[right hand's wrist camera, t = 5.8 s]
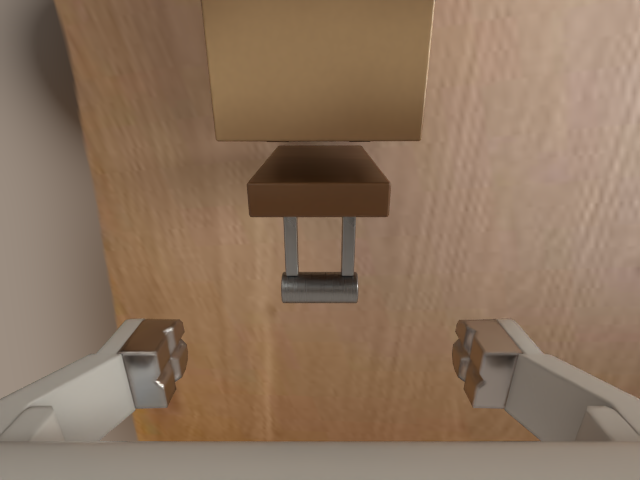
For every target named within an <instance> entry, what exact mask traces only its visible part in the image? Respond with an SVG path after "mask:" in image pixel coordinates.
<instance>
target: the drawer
mask: <svg viewBox="0 0 640 480" xmlns="http://www.w3.org/2000/svg"><path fill="white" fill-rule="evenodd" d="M267 142H289V141H267ZM349 142H370V141H349ZM390 191H391V183H390V182H389V180H388V179H387V178H386V177H385V175H384V174H383V173H382V172H381V170H380V169H379V168H378V166H377V165H376V164H375V163H374V161H373V160H372V159H371V157H370V156H369V155H368V154H367V152H366V151H365V150H364V149H363V147H362V146H278V147H277V148H276V150H275V151H274V152H273V153H272V154H271V156H270V157H269V158H268V159H267V160H266V162H265V163H264V164H263V165H262V166H261V168H260V169H259V170H258V171H257V172H256V173H255V175H254V176H253V177H252V178H251V179H250V181H249V182H248V183H247V193H248V206H249V215H250V217H283V219H284V243H285V266H286V272H283V274H282V283H281V296H282V302H283V303H357V301H358V276H357V273H356V272H354V254H355V227H356V217H388V215H389V205H390ZM297 217H342V244H341V272H299V262H298V225H297Z"/></svg>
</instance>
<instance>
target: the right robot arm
mask: <svg viewBox="0 0 640 480" xmlns="http://www.w3.org/2000/svg"><path fill="white" fill-rule="evenodd" d="M184 332H185V331H184V327H183V322H182V321H181V320H180V319H128V320H125V321H124V322H123V324H122V325H121V326H120V327H119V328H118V329H117V330H116V332H115V333H114V334H113V335H112V336H111V337H110V338H109V340H108V341H107V342H106V343H105V344H104V345H103V347H102V348H101V349H100V350H99V351H98V352H97V353H96V354H89V355H87V356H85V357H83V358H81V359H79V360H77V361H75V362H73V363H71V364H69V365H67V366H65V367H63V368H61V369H59V370H57V371H55V372H53V373H51V374H49V375H47V376H45V377H43V378H41V379H39V380H37V381H35V382H33V383H31V384H29V385H27V386H25V387H23V388H21V389H19V390H17V391H15V392H13V393H11V394H9V395H8V396H5V397H3V398H1V399H0V480H640V399H638V398H636V397H634V396H632V395H630V394H628V393H626V392H624V391H622V390H620V389H618V388H616V387H614V386H612V385H610V384H608V383H606V382H604V381H602V380H601V379H599V378H597V377H595V376H593V375H591V374H589V373H587V372H585V371H583V370H581V369H579V368H577V367H575V366H573V365H571V364H569V363H567V362H565V361H563V360H561V359H559V358H557V357H555V356H553V355H551V354H544V353H543V352H542V351H541V350H540V349H539V348H538V346H537V345H536V344H535V343H534V342H533V341H532V340H531V338H530V337H529V336H528V335H527V334H526V333H525V332H524V330H523V329H522V328H521V327H520V326H519V325H518V324H517V322H516V321H515V320H513V319H487V320H459V321H458V323H457V326H456V331H455V332H456V334H457V336H458V337H459V339H458V340H457V341H456V342H455V343H454V344H453V350H452V360H453V366H454V369H455V372H456V374H457V376H458V378H460V379H461V380H463V381H464V382H465V385H464V391H465V393H466V395H467V397H468V399H469V401H470V403H471V405H472V407H473V408H501V409H505V411H506V412H507V413H509V414H510V415H511V416H512V417H513V418H515V419H516V420H517V421H518V422H519V423H521V424H522V425H523V426H524V427H525V428H526V429H528V430H529V431H530V432H531V433H532V434H534V435H535V436H536V437H537V438H538V439H540V440H541V441H99V440H101V439H102V438H103V437H104V436H105V435H107V434H108V433H109V432H110V431H111V430H112V429H114V428H115V427H116V426H117V425H118V424H120V423H121V422H122V421H123V420H124V419H126V418H127V417H128V416H129V415H130V414H132V413H133V412H134V411H135V409H139V408H167V407H168V405H169V403H170V401H171V399H172V397H173V395H174V393H175V391H176V385H175V382H176V381H177V380H179V379H180V378H182V376H183V374H184V372H185V370H186V365H187V361H188V349H187V344H186V343H185V342H184V341H183V340H182V339H181V337H182V336H183V334H184Z"/></svg>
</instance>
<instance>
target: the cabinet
mask: <svg viewBox="0 0 640 480" xmlns="http://www.w3.org/2000/svg"><path fill="white" fill-rule="evenodd" d="M201 6H202V15H203V24H204V34H205V43H206V52H207V62H208V71H209V80H210V90H211V99H212V108H213V118H214V127H215V136H216V140H217V141H420V140H421V138H422V128H423V118H424V108H425V98H426V88H427V78H428V68H429V58H430V48H431V38H432V28H433V18H434V8H435V0H201Z"/></svg>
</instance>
